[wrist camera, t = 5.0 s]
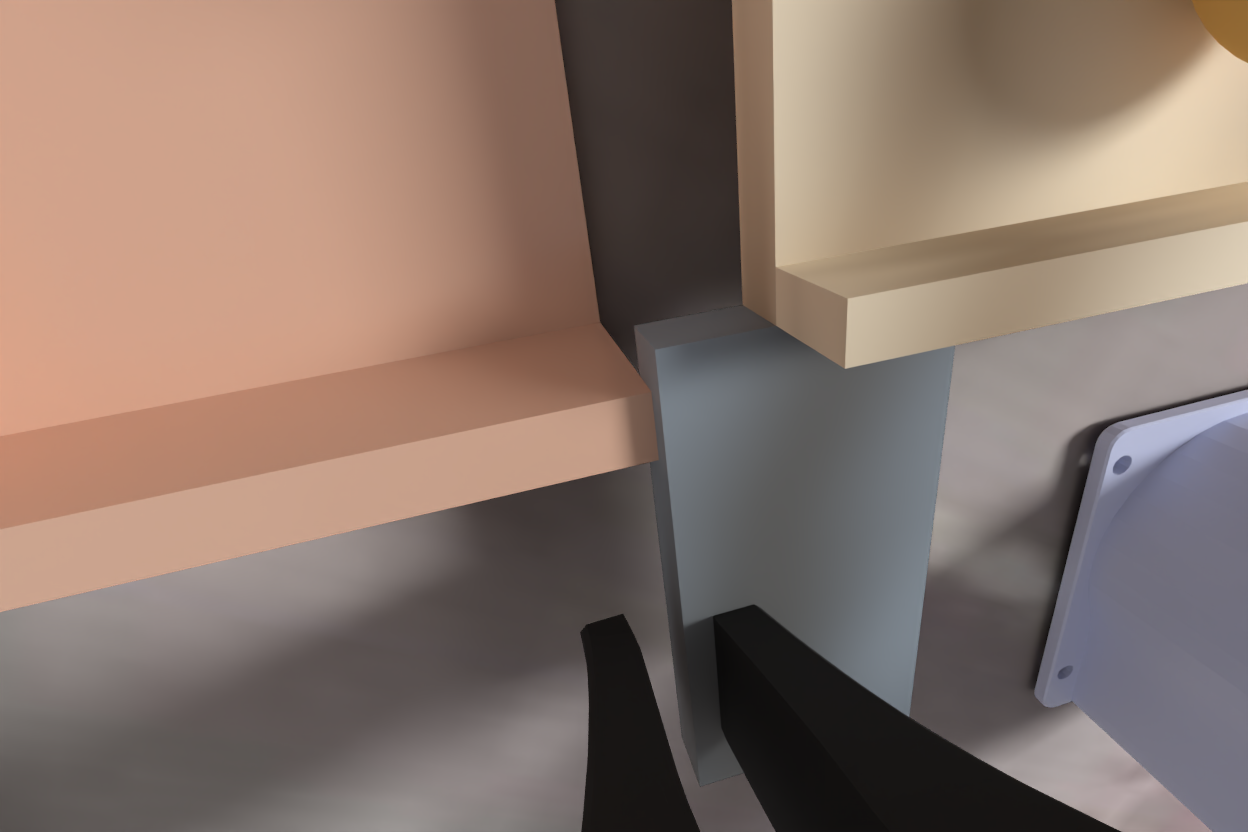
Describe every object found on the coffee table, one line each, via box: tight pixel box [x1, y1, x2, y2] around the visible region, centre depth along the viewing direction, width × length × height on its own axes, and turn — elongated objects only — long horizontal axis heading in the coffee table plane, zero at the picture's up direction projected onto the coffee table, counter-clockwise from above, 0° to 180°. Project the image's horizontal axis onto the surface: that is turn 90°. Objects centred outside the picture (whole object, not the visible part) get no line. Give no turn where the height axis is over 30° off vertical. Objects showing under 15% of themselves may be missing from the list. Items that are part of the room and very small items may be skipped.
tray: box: [0, 0, 659, 612], centre depth 7 cm, size 10×11×4 cm
